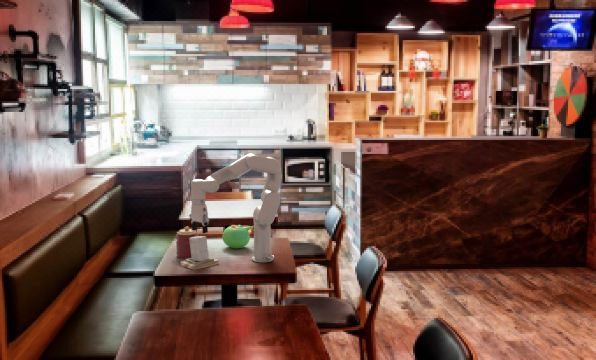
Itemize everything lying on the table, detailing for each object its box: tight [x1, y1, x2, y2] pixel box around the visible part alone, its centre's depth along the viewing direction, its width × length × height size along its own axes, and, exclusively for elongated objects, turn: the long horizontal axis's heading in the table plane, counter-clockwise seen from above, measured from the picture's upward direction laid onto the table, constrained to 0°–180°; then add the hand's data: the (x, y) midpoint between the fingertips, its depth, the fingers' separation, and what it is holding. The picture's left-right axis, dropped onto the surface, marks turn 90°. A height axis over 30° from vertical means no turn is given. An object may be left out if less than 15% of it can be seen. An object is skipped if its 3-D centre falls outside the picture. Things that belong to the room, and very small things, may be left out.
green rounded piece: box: [221, 224, 254, 249], centre depth 398 cm, size 18×17×15 cm
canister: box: [175, 226, 199, 259], centre depth 379 cm, size 13×13×18 cm
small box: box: [189, 235, 210, 261], centre depth 362 cm, size 8×6×13 cm
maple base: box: [180, 256, 220, 271], centre depth 362 cm, size 13×17×3 cm
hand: (199, 231), depth 360 cm, fingers open, 9 cm apart
